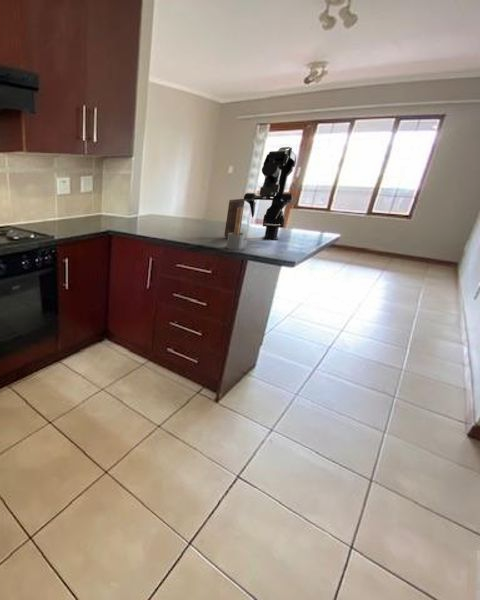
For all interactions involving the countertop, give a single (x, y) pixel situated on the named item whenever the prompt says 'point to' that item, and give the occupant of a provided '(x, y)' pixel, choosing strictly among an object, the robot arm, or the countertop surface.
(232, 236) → the grey cube
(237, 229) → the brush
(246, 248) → the countertop surface
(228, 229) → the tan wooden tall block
